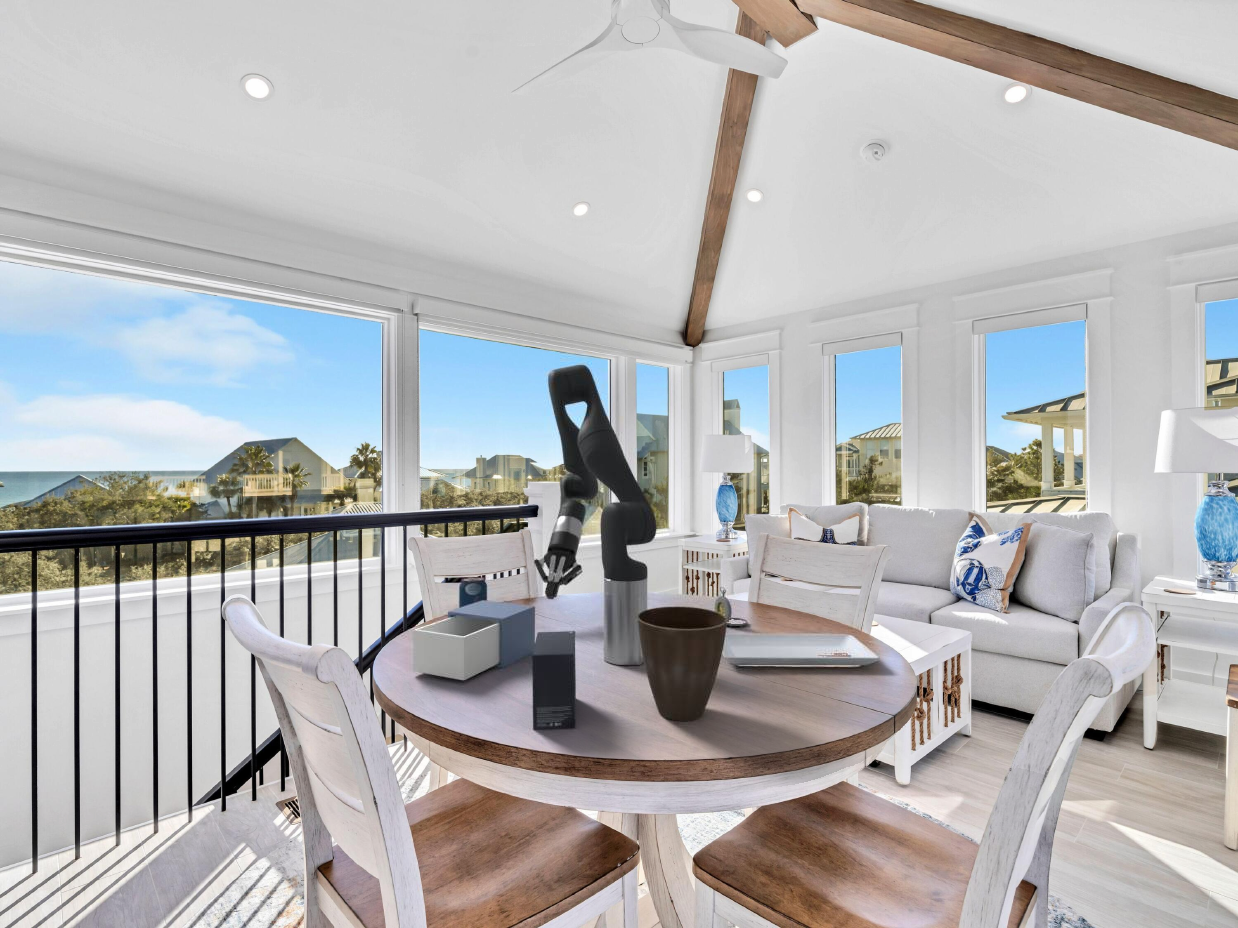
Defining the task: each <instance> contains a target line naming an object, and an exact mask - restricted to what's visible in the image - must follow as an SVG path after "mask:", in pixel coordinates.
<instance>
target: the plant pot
mask: <svg viewBox="0 0 1238 928" xmlns="http://www.w3.org/2000/svg"><path fill="white" fill-rule="evenodd" d="M724 615H725V614H721V613H718V612H715V610H711V609H707V608H701V607H693V606H675V605H674V606H661V607H653V608H649V609H648V608H647V610H645V611H642V612H640V613H639V614H638V615H637V619H638V628H639V636H640V643H641V649H642V654H643V660H644V663H643V665H644V668H645V673H646V677H647V681H648V684H649V686H650V690H651V694H652V697H653V700H654V702H655V705H656V706H655V707H656V708H657V710H658V713H659V714H660V716H661V717H663V718H666V719H669V720H671V721H672V720H673V721H677V722H689V721H695V719H696V720H698V719H700V718H702V716H703V715H704V712H705V709H706V708H707V705H708V702H709V700H710V697H711V694H712V691H713V688H714V685H715V683H716V679H717V674H718V671H719V668H720V665H721V664H720V663H721V659H722V657H723V655H722V651H723V646H724V640H725V634H726V633H727V628H728V627H727V617H726V616H724Z"/></svg>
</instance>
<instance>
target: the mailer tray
mask: <svg viewBox="0 0 1238 928" xmlns="http://www.w3.org/2000/svg"><path fill="white" fill-rule="evenodd" d="M500 624H501V621H495V620H487V619H479V618H472V617H464V616H453V617H450V618H448V617H447V618H445V619H442V620H439V621H435V622H433V623H431V624H427V625H423V626H422V627H418V628H415V629H413V630H412V631H413V635H412V636H413V637H412V638H413V639H412V640H413V642H412V643H413V646H412V647H413V648H412V649H413V650H412V651H413V652H412V653H413V654H412V655H413V656H412V657H413V661H412V663H413V664H412V666H413V667H412V668H413V669H412V671H413V672H417V673H421V674H426V675H427V674H428V675H432V676H438V677H442V678H443V677H444V678H449V679H454V680H461V681H465V680H467V679H469V678H472V677H473V676H474V677H475V676H476V675H478V674H479V673H481V672H484V671H486V670H488V669H489V668H493V666H494V665H496V664H498V663H500Z"/></svg>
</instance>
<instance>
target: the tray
mask: <svg viewBox="0 0 1238 928" xmlns="http://www.w3.org/2000/svg"><path fill="white" fill-rule="evenodd" d="M836 650H837V651H836ZM825 653H826V654H825ZM831 653H832V654H831ZM834 653H847V654H848V655H851V657H826V656H824V657H823V656H818V655H834ZM842 655H843V654H842ZM844 655H846V654H844ZM722 657H723V658H724V659H725V660H726V661H728V662H729V663H731V664H733V665H735V664H736V665H864V666H868V665H870V664H871V665H872V664H873V663H876V662H878V661H880V659H881V658H880V656H878V654H876V652H874V651H872V650H871V649H870V648H868V647H867V646H866V645H865V644H864V643H862V642H861V641H860V640H858V638H856V637H855V636H854V635H851V634H845V633H735V632H734V633H731V632H730V633H727V632H726V634H725V640H724V646H723V651H722ZM736 665H735V666H736Z"/></svg>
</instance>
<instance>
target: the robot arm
mask: <svg viewBox="0 0 1238 928" xmlns="http://www.w3.org/2000/svg"><path fill="white" fill-rule="evenodd" d="M547 376H548V377H547V383H548V384H547V385H548V392H549V396H550V400H551V406H552V409H553V414H554V419H555V423H556V427H557V429H558V433H559V437H560V442H561V451H562V459H563V466H564V469H565V471H567V472H568V473H566V474H564V475H563V476H562V478H561V479H560V484H559V489H560V490H559V491H560V507H559V511H558V513H557V518H556V521H555V524H554V525H553V529H552V532H551V536H550V539H549V542H548V548H547V550H546V553H544V555H543V557H542V558H540V559H538V558H535V559H534V561H533V563H534V565H535V567H536V570H537V572H538V574H539V575H540V578H541V580H542V581H543V583H545V584H546V583H547V584H546V586H545V591H544V594H545V596H546V598H547V599H549V600H554V599H555V598H557V596H558V594H559V593H558V592H559V589H560V586H568V585H569V584H570V583H572V581H573V580H575V578H577V577H578V576H579V575H581V574H582V573H583V568H582V565H581V564H578V563H577V558H576V557H577V554H578V548H579V544H580V541H581V538H582V533H583V531H582V530H583V526H584V525H583V524H584V520H585V518H586V517H585V516H586V512H587V511H586V510H587V509H586V506H585V504H583V503H582V502H580V501H578V500H582V501H583V500H584V501H593V499H595V498H596V497H597V495H598V493H599V483H598V481H599V482H601V484H603V485H605V487H607V489H609V490H610V491H611V492H612V493H613V494H614V495H615V497H616V498H617V499H618V502H617V501H615V502H614V501H613V502H609V503H607V504H606V505H605V506H604V507H603V509H602V512H601V515H600V524H599V525H600V541H601V542H600V543H601V545H600V546H601V548H600V549H601V562H602V567H603V568H602V569H603V660H604V661H606V662H607V663H610V664H612V665H613V664H614V665H617V666H618V665H619V666H633V665H634V666H635V665H636V666H641V665H642V664H644V660H643V654H642V649H641V643H640V636H639V628H638V619H637V615H638V614H639V613H640V612H642V611H645V610H648V576H649V575H648V566H647V564H646V563H644V562H643V561H639V560H637V559H633V558H631V557H630V556H629V553H628V546H639V545H645V544H646V545H647V544H649V543H650V542H652V541H653V540H654V539H655V538H656V535H657V530H658V528H657V520H656V515H655V513H654V510H653V508H652V506H651V504H650V502H649V500H648V499H647V496H646V495H645V494H644V491H643V490H642V488H641V486H640V484H639V483H638V481H637V480H636V479H637V478H635V476H634V474H633V472H632V469H631V467H630V465H629V463H628V461H627V458H626V456H625V454H624V451H623V449H622V446H621V444H620V441H619V439H618V437H617V434H616V432H615V430H614V429H613V427H612V424H611V422H610V420H609V417H608V416H607V413H606V411H605V408H604V405H603V402H602V400H601V396H600V394H599V391H598V387H597V385H596V382H595V379H594V375H593V373H592V371H591V370H590V369H589V367H588V366H587V365H584V364H575V365H570V366H565V367H560V368H555V369H552V370H551V371H549V373H548V375H547ZM578 403H585V404H586V410H585V415H584V418H583V421H582V423H581V426H580V427H579V426H578V425H576V423H575V422H574V421H573V420H572V419H571V417H570V416H569V415H568V412H567V409H566V406H568V405H574V404H578ZM545 565H546V567H547V569H548V575H547V574H546V571H545V570H544V568H545Z"/></svg>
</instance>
